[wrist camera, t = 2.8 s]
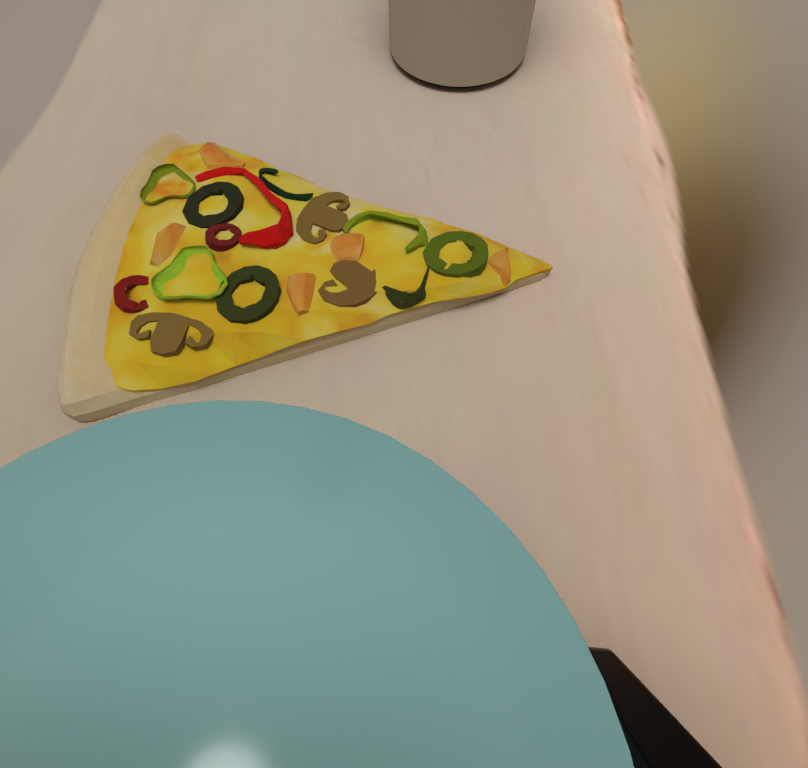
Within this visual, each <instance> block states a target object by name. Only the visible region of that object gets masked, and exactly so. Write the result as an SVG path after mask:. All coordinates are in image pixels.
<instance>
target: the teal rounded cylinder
mask: <svg viewBox="0 0 808 768" xmlns="http://www.w3.org/2000/svg"><path fill="white" fill-rule="evenodd" d="M0 768H634V766H633V762H632V758H631V754H630V750H629V747H628V744H627V742H626V739H625V736H624V733H623V731H622V728H621V725H620V722H619V720H618V717H617V714H616V711H615V709H614V706H613V703H612V700H611V698H610V695H609V692H608V689H607V687H606V684H605V681H604V679H603V677H602V675H601V673H600V671H599V669H598V667H597V665H596V663H595V661H594V659H593V657H592V655H591V652H590V650H589V648H588V646H587V644H586V642H585V640H584V638H583V636H582V634H581V632H580V630H579V628H578V626H577V624H576V622H575V620H574V619H573V617H572V615H571V614H570V612H569V611H568V609H567V607H566V606H565V604H564V603H563V601H562V600H561V598H560V596H559V595H558V593H557V592H556V590H555V588H554V587H553V585H552V584H551V582H550V581H549V579H548V577H547V576H546V574H545V573H544V571H543V570H542V568H541V567H540V566H539V565H538V564H537V562H536V561H535V560H534V559H533V557H532V556H531V555H530V554H529V552H528V551H527V550H526V549H525V547H524V546H523V545H522V544H521V542H520V541H519V540H518V539H517V537H516V536H515V535H514V534H513V532H512V531H511V530H510V529H509V527H508V526H507V525H506V524H505V523H504V522H503V521H501V520H500V519H499V518H498V517H497V516H496V515H495V514H494V513H493V512H492V511H491V510H490V509H489V508H488V507H487V506H486V505H485V504H484V503H483V502H482V501H481V500H480V499H479V498H478V497H477V496H476V495H475V494H474V493H473V492H472V491H471V490H469V489H468V488H467V487H466V486H464V485H463V484H462V483H460V482H459V481H458V480H456V479H455V478H454V477H452V476H451V475H450V474H448V473H447V472H446V471H445V470H443V469H442V468H441V467H439V466H438V465H437V464H435V463H434V462H433V461H431V460H430V459H428V458H426V457H424V456H423V455H421V454H419V453H417V452H416V451H414V450H412V449H411V448H409V447H407V446H405V445H404V444H402V443H400V442H398V441H397V440H395V439H393V438H392V437H389V436H387V435H385V434H382V433H380V432H377V431H375V430H373V429H370V428H368V427H365V426H363V425H361V424H358V423H356V422H353V421H351V420H349V419H345V418H341V417H338V416H334V415H330V414H327V413H323V412H319V411H316V410H312V409H309V408H304V407H297V406H290V405H283V404H276V403H269V402H262V401H207V402H197V403H187V404H176V405H169V406H164V407H159V408H155V409H150V410H145V411H141V412H136V413H131V414H127V415H123V416H120V417H117V418H114V419H111V420H108V421H105V422H101V423H98V424H95V425H92V426H89V427H86V428H83V429H80V430H77V431H75V432H73V433H70V434H68V435H66V436H64V437H61V438H59V439H57V440H55V441H52V442H50V443H48V444H46V445H43V446H41V447H39V448H37V449H34V450H32V451H30V452H28V453H26V454H24V455H23V456H21V457H19V458H17V459H16V460H14V461H12V462H10V463H8V464H7V465H5V466H3V467H1V468H0Z"/></svg>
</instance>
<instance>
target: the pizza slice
mask: <svg viewBox="0 0 808 768" xmlns="http://www.w3.org/2000/svg"><path fill="white" fill-rule="evenodd" d="M552 268H553V267H552V266H551V265H549V264H547V263H546V262H544V261H542V260H539V259H537V258H534V257H532V256H529V255H527V254H524V253H522V252H519V251H517V250H514V249H512V248H509V247H507V246H505V245H502V244H500V243H498V242H496V241H493V240H491V239H489V238H486V237H484V236H482V235H480V234H477V233H473V232H470V231H466V230H463V229H459V228H456V227H453V226H449V225H446V224H444V223H442V222H439V221H437V220H433V219H429V218H424V217H419V216H414V215H409V214H405V213H401V212H398V211H394V210H391V209H388V208H384V207H381V206H377V205H374V204H371V203H367V202H364V201H361V200H357V199H354V198H350V197H348V196H346V195H344V194H342V193H340V192H330V191H328V190H326V189H323V188H321V187H319V186H317V185H315V184H313V183H311V182H309V181H307V180H304V179H302V178H300V177H298V176H296V175H293V174H290V173H287V172H284V171H281V170H279V169H277V168H275V167H273V166H271V165H269V164H267V163H265V162H263V161H261V160H259V159H257V158H254V157H251V156H248V155H245V154H242V153H239V152H236V151H233V150H230V149H227V148H224V147H220V146H218V145H217V144H216V143H211V142H207V143H203V144H195V145H193V144H191V143H190V142H188V141H187V140H185V139H183V138H181V137H180V136H178V135H176V134H167V135H165V136H162V137H160V138H158V139H156V140H155V141H154V142H153V143H152V144H151V145H150V146H149V147H148V148H147V149H146V150H145V151H144V152H143V153H142V154H141V156H140V157H139V158H138V159H137V161H136V162H135V163H134V165H133V166H132V167H131V168H130V170H129V171H128V172H127V174H126V175H125V176H124V178H123V179H122V181H121V182H120V184H119V185H118V187H117V188H116V190H115V191H114V193H113V194H112V196H111V197H110V199H109V200H108V202H107V204H106V206H105V208H104V210H103V211H102V213H101V215H100V217H99V219H98V221H97V222H96V224H95V226H94V228H93V230H92V232H91V234H90V237H89V239H88V241H87V243H86V246H85V248H84V250H83V253H82V255H81V257H80V259H79V262H78V265H77V269H76V272H75V275H74V278H73V282H72V285H71V288H70V291H69V295H68V302H67V310H66V317H65V324H64V331H63V338H62V345H61V352H60V359H59V377H58V396H59V400H60V404H61V409H62V411H63V412H64V414H65V415H67V416H69V417H71V418H73V419H76V420H78V421H81V422H90V421H96V420H100V419H103V418H106V417H109V416H112V415H115V414H117V413H120V412H123V411H126V410H129V409H132V408H135V407H138V406H142V405H145V404H148V403H151V402H155V401H158V400H161V399H164V398H167V397H171V396H174V395H177V394H180V393H183V392H187V391H190V390H193V389H196V388H200V387H203V386H206V385H209V384H212V383H216V382H219V381H222V380H225V379H228V378H232V377H235V376H238V375H241V374H244V373H248V372H251V371H254V370H257V369H261V368H264V367H267V366H270V365H274V364H277V363H280V362H283V361H286V360H290V359H293V358H296V357H299V356H302V355H306V354H309V353H312V352H315V351H318V350H322V349H325V348H328V347H331V346H334V345H337V344H341V343H344V342H347V341H350V340H353V339H357V338H360V337H363V336H366V335H370V334H373V333H376V332H379V331H382V330H386V329H389V328H392V327H395V326H398V325H401V324H405V323H408V322H411V321H414V320H417V319H421V318H424V317H427V316H430V315H433V314H437V313H440V312H443V311H446V310H449V309H453V308H456V307H459V306H462V305H465V304H468V303H472V302H475V301H478V300H481V299H484V298H488V297H491V296H494V295H497V294H500V293H504V292H507V291H510V290H513V289H516V288H520V287H523V286H526V285H529V284H532V283H535V282H538V281H540V280H541V279H543V278H544V277H545V276H546V275H547V273H548V272H550V271H551V269H552Z"/></svg>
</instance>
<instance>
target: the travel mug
mask: <svg viewBox="0 0 808 768" xmlns="http://www.w3.org/2000/svg"><path fill="white" fill-rule="evenodd" d="M535 1H536V0H389V30H390V50H391V54H392V56H393V58H394V59H395V61H396V62H397V64H398V65H399V66H400V67H401V68H402V69H404V70H405V71H406V72H408V73H409V74H411V75H413V76H415V77H416V78H419V79H421V80H424V81H427V82H430V83H434V84H438V85H444V86H449V87H466V86H476V85H482V84H486V83H490V82H493V81H496V80H498V79H501V78H503V77H504V76H506V75H508V74H509V73H511V72H512V71H513V70H515V69H516V68H517V67H518V66H519V64H520V63H521V61H522V60H523V58H524V55H525V51H526V46H527V41H528V36H529V31H530V26H531V21H532V16H533V11H534V6H535Z"/></svg>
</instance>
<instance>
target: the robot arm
mask: <svg viewBox="0 0 808 768" xmlns="http://www.w3.org/2000/svg"><path fill="white" fill-rule="evenodd" d="M588 648H589V650H590V652H591V655H592V657H593V659H594V661H595V663H596V665H597V667H598V669H599V671H600V673H601V675H602V677H603V679H604V681H605V684H606V687H607V689H608V692H609V695H610V698H611V700H612V703H613V706H614V709H615V711H616V714H617V717H618V720H619V722H620V725H621V728H622V731H623V733H624V736H625V739H626V742H627V744H628V747H629V750H630V754H631V758H632V762H633V766H634V768H722V767H721V766H720V765H719V764H718V763H717V762H716V761H715V760H714V759H713V757H712V756H711V755H710V754H709V753H708V752H707V751H706V750H705V749H704V748H703V747H702V746H701V745H700V744H699V743H698V742H697V741H696V739H695V738H694V737H693V736H692V735H691V734H690V733H689V732H688V731H687V730H686V729H685V728H684V727H683V726H682V725H681V724H680V723H679V721H678V720H677V719H676V718H675V717H674V716H673V715H672V714H671V713H670V712H669V711H668V710H667V709H666V708H665V707H664V706H663V705H662V703H661V702H660V701H659V700H658V699H657V698H656V697H655V696H654V695H653V694H652V693H651V692H650V691H649V690H648V689H647V688H646V686H645V685H644V684H643V683H642V682H641V681H640V680H639V679H638V678H637V677H636V676H635V675H634V674H633V673H632V672H631V671H630V670H629V668H628V667H627V666H626V665H625V664H624V663H623V662H622V661H621V660H620V659H619V658H618V657H617V656H616V655H615V654H614V653H613V652H612V651H611V650H609V649H606V648H595V647H588Z"/></svg>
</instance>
